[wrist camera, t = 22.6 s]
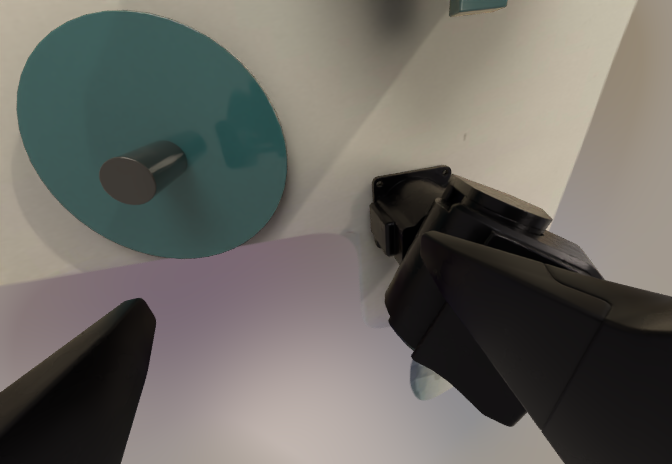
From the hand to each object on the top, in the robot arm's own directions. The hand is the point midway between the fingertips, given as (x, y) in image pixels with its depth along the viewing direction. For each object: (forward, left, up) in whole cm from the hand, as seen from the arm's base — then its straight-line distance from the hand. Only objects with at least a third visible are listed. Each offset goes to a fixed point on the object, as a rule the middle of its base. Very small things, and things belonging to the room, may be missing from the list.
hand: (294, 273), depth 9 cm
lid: (+7, -2, -13) cm, 15 cm away
